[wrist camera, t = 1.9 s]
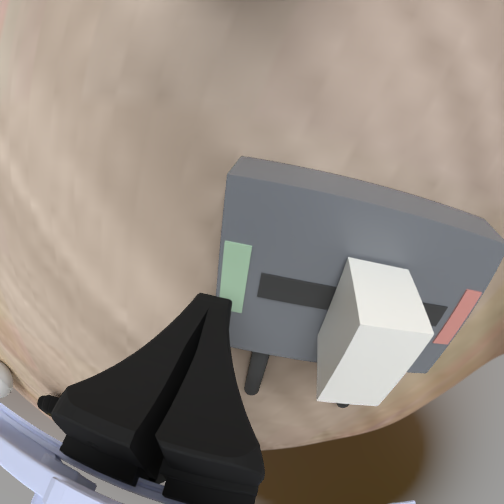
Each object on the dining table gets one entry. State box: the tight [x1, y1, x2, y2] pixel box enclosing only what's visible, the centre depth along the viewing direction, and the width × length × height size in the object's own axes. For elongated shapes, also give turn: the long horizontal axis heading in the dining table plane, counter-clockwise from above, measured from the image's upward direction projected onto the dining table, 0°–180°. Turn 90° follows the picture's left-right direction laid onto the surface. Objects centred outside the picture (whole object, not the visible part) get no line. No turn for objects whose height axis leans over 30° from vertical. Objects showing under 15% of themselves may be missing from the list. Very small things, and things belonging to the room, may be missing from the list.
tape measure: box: [37, 395, 59, 417], centre depth 35 cm, size 7×7×4 cm
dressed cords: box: [244, 352, 349, 408], centre depth 21 cm, size 9×9×1 cm
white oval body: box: [0, 362, 13, 398], centre depth 36 cm, size 10×7×7 cm
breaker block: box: [216, 156, 504, 373], centre depth 15 cm, size 14×10×3 cm
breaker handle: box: [317, 257, 434, 406], centre depth 12 cm, size 3×5×4 cm, turn 172°
